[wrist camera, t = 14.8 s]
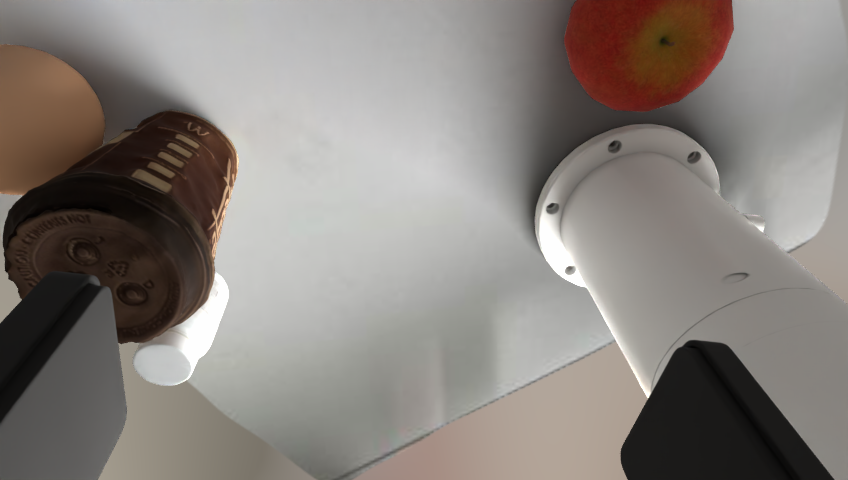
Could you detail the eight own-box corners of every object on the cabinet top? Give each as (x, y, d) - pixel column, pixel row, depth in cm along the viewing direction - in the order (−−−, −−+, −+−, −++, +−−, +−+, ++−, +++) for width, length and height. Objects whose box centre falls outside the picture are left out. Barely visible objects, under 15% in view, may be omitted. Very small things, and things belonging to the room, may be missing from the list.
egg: (66, 178, 34) (-17, 252, 27) (-43, 77, 30) (-174, 131, 23) (154, 116, 32) (91, 177, 25) (50, 2, 29) (-59, 36, 22)
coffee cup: (119, 211, 35) (4, 351, 24) (98, 84, 31) (-53, 184, 20) (257, 222, 37) (207, 360, 26) (255, 101, 32) (194, 204, 21)
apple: (521, 50, 32) (559, 88, 25) (600, -89, 29) (669, -87, 22) (623, 106, 34) (683, 154, 28) (709, -17, 31) (800, 5, 24)
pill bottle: (159, 262, 38) (114, 338, 31) (225, 262, 38) (194, 337, 32) (171, 312, 40) (132, 392, 33) (233, 311, 40) (206, 391, 34)
